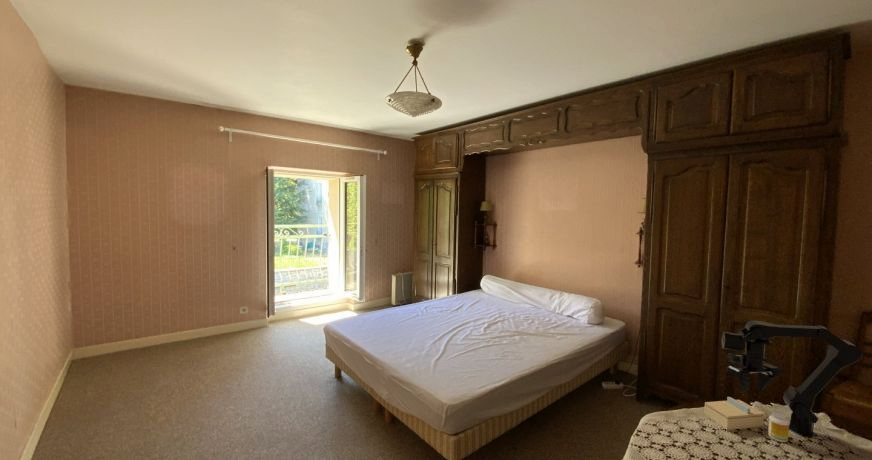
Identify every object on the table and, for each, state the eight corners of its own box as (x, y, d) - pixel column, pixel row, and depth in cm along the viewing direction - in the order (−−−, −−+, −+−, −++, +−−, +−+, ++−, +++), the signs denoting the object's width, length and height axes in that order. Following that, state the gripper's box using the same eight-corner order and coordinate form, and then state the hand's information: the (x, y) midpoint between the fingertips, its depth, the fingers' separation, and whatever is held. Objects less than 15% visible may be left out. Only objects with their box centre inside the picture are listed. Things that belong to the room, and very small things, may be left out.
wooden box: (738, 412, 149) (739, 402, 149) (763, 427, 139) (764, 416, 139) (704, 415, 147) (704, 404, 146) (726, 430, 137) (727, 419, 137)
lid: (739, 401, 149) (739, 395, 148) (764, 415, 139) (764, 408, 138) (704, 404, 146) (705, 397, 146) (727, 418, 137) (728, 411, 136)
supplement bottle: (791, 443, 130) (793, 417, 129) (774, 441, 131) (776, 415, 130) (780, 434, 135) (782, 409, 134) (764, 432, 136) (765, 407, 135)
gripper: (754, 344, 151) (752, 380, 152) (715, 346, 149) (713, 382, 150) (783, 355, 140) (780, 393, 141) (742, 357, 138) (739, 397, 139)
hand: (752, 391), depth 143 cm, fingers open, 7 cm apart
